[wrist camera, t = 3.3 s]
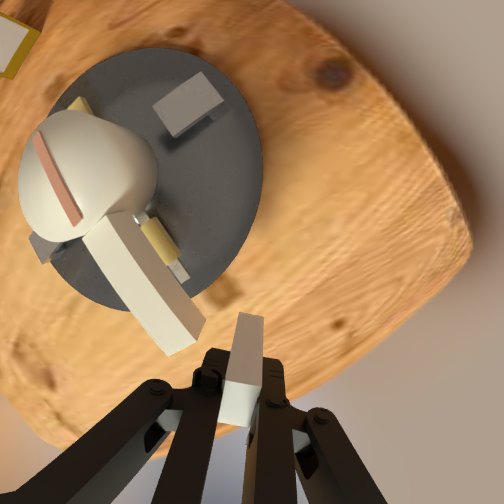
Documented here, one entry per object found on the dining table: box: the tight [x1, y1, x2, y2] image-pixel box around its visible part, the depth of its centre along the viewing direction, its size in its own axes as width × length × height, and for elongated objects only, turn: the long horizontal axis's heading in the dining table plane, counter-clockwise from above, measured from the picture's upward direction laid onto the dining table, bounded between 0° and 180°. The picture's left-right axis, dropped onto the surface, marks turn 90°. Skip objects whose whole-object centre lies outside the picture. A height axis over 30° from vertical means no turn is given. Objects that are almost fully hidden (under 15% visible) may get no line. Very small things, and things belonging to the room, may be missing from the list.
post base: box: [29, 48, 263, 312], centre depth 19 cm, size 24×24×4 cm
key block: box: [18, 96, 206, 357], centre depth 16 cm, size 22×8×8 cm, turn 34°
